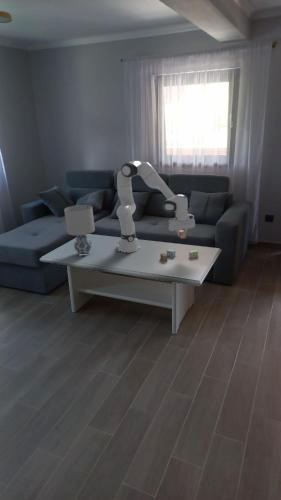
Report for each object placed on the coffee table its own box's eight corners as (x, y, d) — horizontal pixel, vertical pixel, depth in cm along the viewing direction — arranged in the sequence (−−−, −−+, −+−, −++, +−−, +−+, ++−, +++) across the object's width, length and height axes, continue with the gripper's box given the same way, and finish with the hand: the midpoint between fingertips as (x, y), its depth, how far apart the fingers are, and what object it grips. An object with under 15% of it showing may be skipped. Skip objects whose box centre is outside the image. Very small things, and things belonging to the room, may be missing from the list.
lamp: (93, 258, 269) (88, 210, 256) (67, 259, 271) (60, 211, 259) (99, 249, 289) (94, 204, 276) (74, 249, 292) (68, 205, 279)
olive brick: (190, 258, 257) (190, 252, 256) (189, 257, 260) (188, 251, 258) (198, 256, 259) (198, 251, 258) (196, 255, 262) (196, 250, 260)
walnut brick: (160, 259, 260) (160, 253, 258) (164, 258, 261) (164, 252, 259) (163, 261, 254) (163, 256, 253) (167, 261, 255) (167, 255, 254)
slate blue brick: (166, 255, 265) (166, 250, 264) (168, 254, 267) (168, 249, 266) (173, 257, 261) (172, 251, 260) (175, 256, 263) (175, 250, 262)
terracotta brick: (178, 236, 260) (178, 230, 259) (182, 235, 261) (182, 229, 260) (182, 238, 255) (181, 232, 253) (185, 237, 256) (185, 232, 254)
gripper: (170, 219, 247) (171, 238, 251) (196, 215, 253) (196, 233, 258) (166, 217, 252) (167, 235, 257) (192, 214, 258) (192, 231, 263)
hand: (182, 234), depth 257 cm, fingers closed on terracotta brick, 3 cm apart
